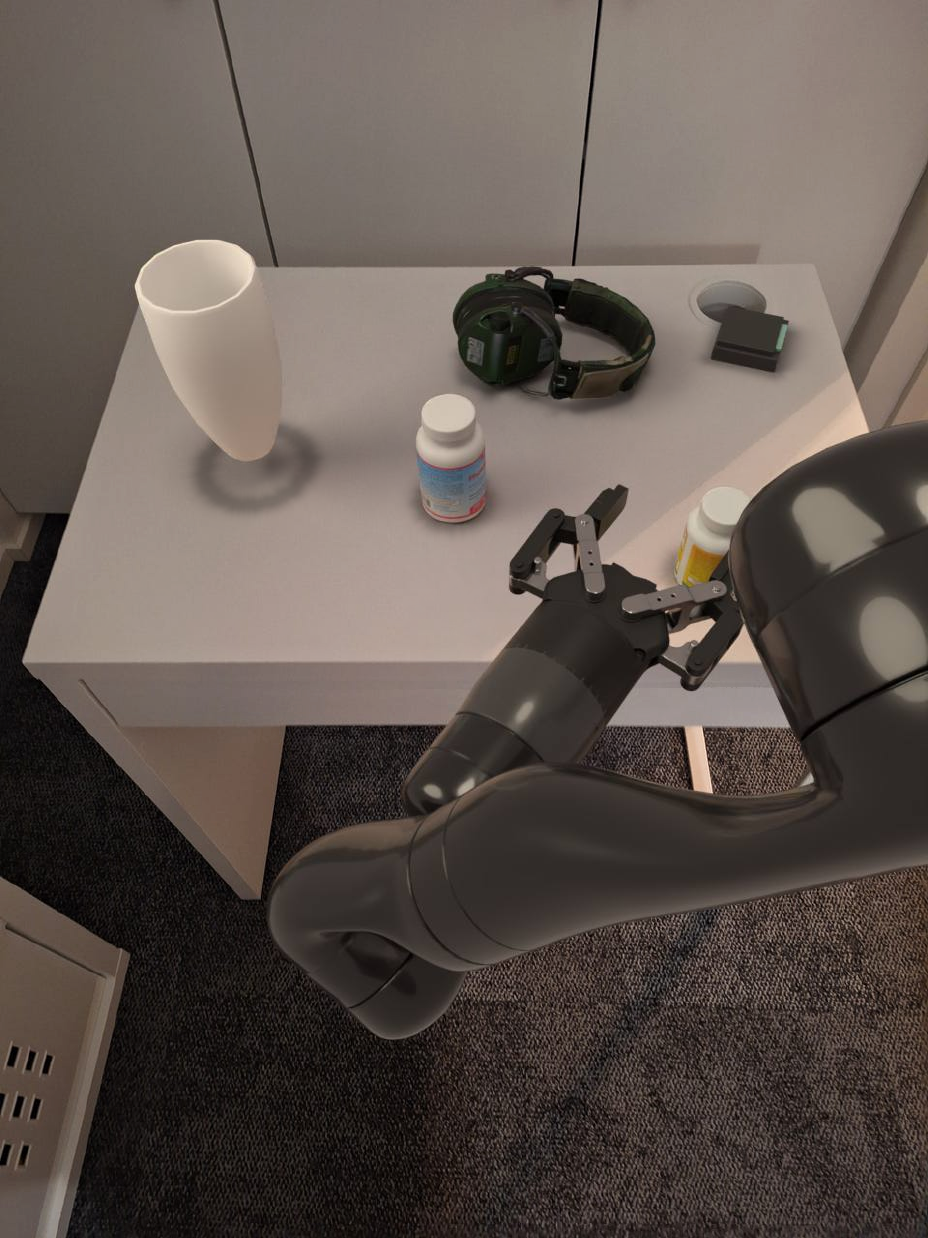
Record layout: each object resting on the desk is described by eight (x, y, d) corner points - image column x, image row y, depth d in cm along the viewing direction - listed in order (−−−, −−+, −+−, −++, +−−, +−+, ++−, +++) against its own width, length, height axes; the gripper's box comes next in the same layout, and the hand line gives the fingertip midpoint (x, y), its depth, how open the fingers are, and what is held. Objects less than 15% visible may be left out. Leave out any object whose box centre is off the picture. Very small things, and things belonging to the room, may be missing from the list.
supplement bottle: (663, 561, 82) (680, 489, 74) (716, 544, 82) (739, 471, 74) (691, 608, 79) (713, 538, 71) (747, 589, 80) (774, 518, 72)
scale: (785, 332, 98) (790, 315, 96) (774, 372, 94) (779, 355, 93) (723, 320, 99) (727, 302, 97) (710, 359, 96) (714, 342, 94)
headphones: (471, 398, 86) (672, 396, 89) (469, 247, 83) (675, 252, 87) (447, 405, 99) (623, 404, 102) (444, 275, 96) (625, 278, 100)
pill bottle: (486, 525, 85) (484, 437, 75) (420, 525, 85) (410, 439, 75) (486, 476, 88) (484, 386, 79) (423, 477, 88) (414, 387, 79)
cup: (327, 476, 89) (283, 286, 71) (228, 521, 86) (156, 335, 68) (283, 412, 94) (231, 220, 76) (187, 453, 91) (110, 263, 73)
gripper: (665, 730, 48) (795, 532, 55) (445, 603, 53) (591, 437, 60) (644, 788, 54) (764, 604, 61) (450, 670, 59) (581, 512, 66)
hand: (678, 521), depth 61 cm, fingers open, 8 cm apart
